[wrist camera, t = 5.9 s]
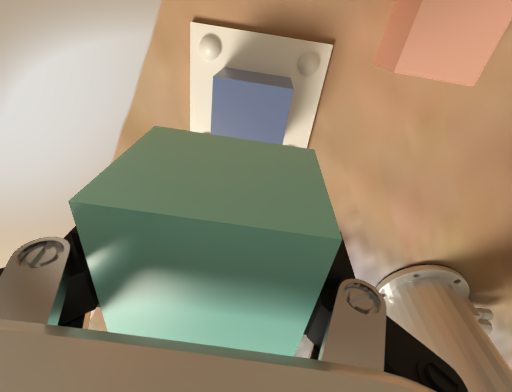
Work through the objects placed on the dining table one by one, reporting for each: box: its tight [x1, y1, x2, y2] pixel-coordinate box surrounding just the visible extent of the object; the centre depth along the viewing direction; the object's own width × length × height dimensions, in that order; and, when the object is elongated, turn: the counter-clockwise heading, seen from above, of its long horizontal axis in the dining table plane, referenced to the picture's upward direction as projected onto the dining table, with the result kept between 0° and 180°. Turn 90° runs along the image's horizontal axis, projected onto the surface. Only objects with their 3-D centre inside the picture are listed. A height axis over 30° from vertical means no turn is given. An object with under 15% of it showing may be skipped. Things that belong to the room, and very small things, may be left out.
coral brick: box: [373, 0, 512, 87], centre depth 20 cm, size 6×6×5 cm
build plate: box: [190, 22, 333, 148], centre depth 24 cm, size 12×12×6 cm
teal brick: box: [69, 126, 342, 356], centre depth 10 cm, size 6×6×5 cm
